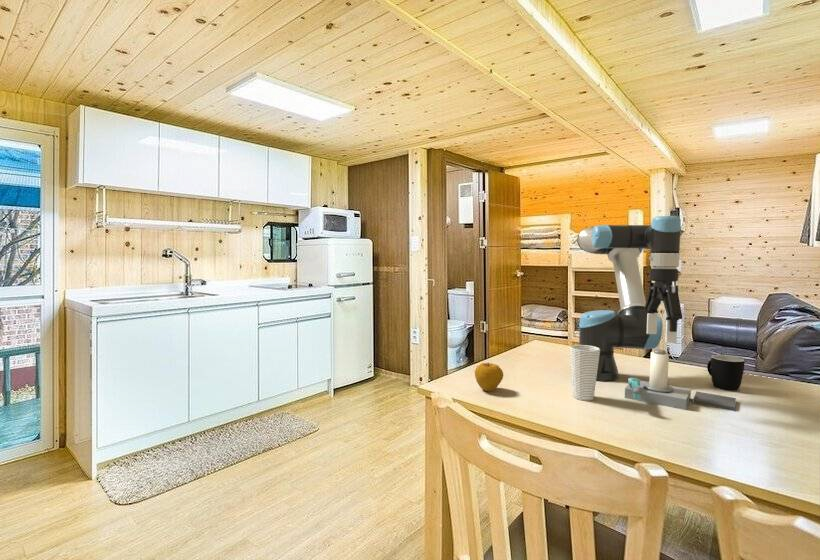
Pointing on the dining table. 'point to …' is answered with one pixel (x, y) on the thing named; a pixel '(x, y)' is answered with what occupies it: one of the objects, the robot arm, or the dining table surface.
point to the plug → (658, 372)
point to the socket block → (662, 396)
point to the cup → (584, 370)
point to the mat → (715, 400)
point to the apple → (488, 376)
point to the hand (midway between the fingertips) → (660, 338)
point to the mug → (726, 372)
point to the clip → (635, 387)
